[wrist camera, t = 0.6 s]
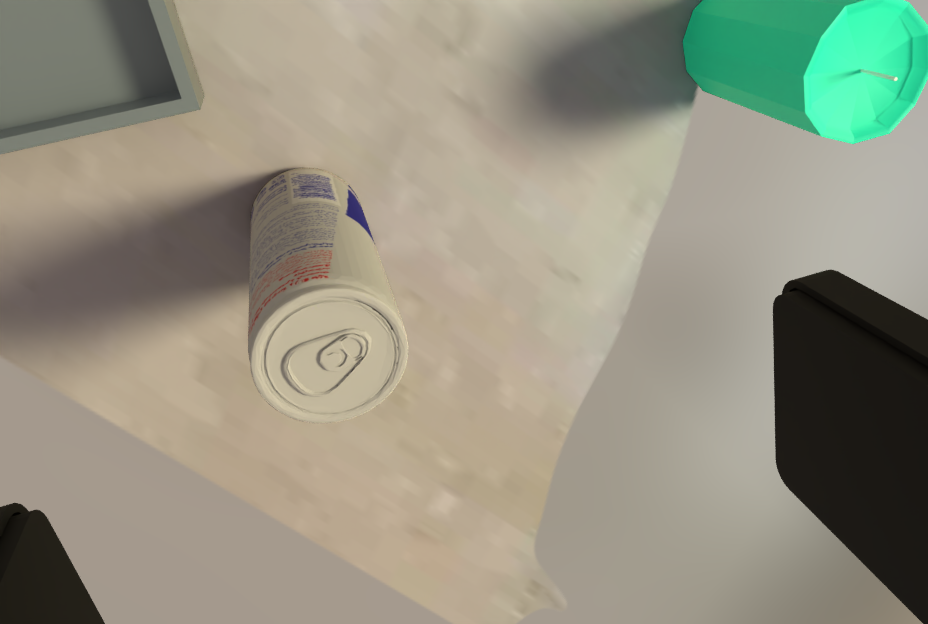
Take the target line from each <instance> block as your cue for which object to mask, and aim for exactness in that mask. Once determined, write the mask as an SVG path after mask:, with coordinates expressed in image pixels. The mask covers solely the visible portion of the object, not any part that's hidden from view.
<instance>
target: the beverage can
mask: <svg viewBox="0 0 928 624" xmlns="http://www.w3.org/2000/svg"><path fill="white" fill-rule="evenodd" d="M248 353H249V360H250V366H251V374H252V377H253V381H254V383H255V386H256V387H257V389H258V391H259V393H260V394H261V396H262V397H263V398H264V399H265V400H266V402H267V403H268V404H269V405H271V406H272V407H273V408H274V409H276V410H277V411H279V412H280V413H282V414H284V415H286V416H288V417H290V418H293V419H296V420H299V421H303V422H309V423H335V422H341V421H345V420H349V419H352V418H355V417H358V416H360V415H362V414H364V413H366V412H368V411H370V410H371V409H373V408H374V407H376V406H377V405H379V404H380V403H381V402H382V401H383V400H385V399H386V398H387V397H388V396H389V395H390V394H391V392H392V391H393V390H394V389H395V387H396V386H397V384H398V383H399V381H400V380H401V377H402V375H403V373H404V371H405V367H406V364H407V358H408V341H407V335H406V331H405V328H404V326H403V322H402V319H401V316H400V313H399V310H398V308H397V305H396V302H395V299H394V296H393V294H392V291H391V288H390V285H389V283H388V280H387V277H386V274H385V271H384V269H383V266H382V263H381V260H380V257H379V255H378V252H377V249H376V246H375V244H374V241H373V238H372V235H371V232H370V230H369V227H368V224H367V221H366V218H365V216H364V213H363V210H362V207H361V205H360V202H359V200H358V198H357V196H356V194H355V193H354V191H353V190H352V189H351V187H350V186H349V185H348V184H347V183H346V182H345V181H343V180H342V179H341V178H339V177H338V176H336V175H334V174H332V173H330V172H327V171H324V170H321V169H315V168H298V169H293V170H289V171H286V172H284V173H282V174H279V175H278V176H276V177H274V178H273V179H272V180H270V181H269V182H268V183H267V184H266V185H265V186H264V187H263V188H262V189H261V191H260V192H259V194H258V195H257V197H256V199H255V202H254V204H253V207H252V212H251V238H250V283H249V327H248Z"/></svg>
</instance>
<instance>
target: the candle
mask: <svg viewBox="0 0 928 624" xmlns="http://www.w3.org/2000/svg"><path fill="white" fill-rule="evenodd" d="M683 49H684V56H685V64H686V71H687V72H688V73H689V75H690V76H691V77H692V78H693V79H694V81H695V82H696V83H697V84H698V85H699V87H700V88H701V89H702V90H703V91H705V92H707V93H710V94H712V95H715V96H718V97H720V98H723V99H726V100H728V101H731V102H733V103H736V104H739V105H741V106H744V107H747V108H749V109H751V110H754V111H757V112H759V113H762V114H765V115H767V116H770V117H772V118H775V119H777V120H780V121H783V122H785V123H788V124H791V125H793V126H796V127H798V128H801V129H803V130H806V131H809V132H811V133H814V134H816V135H819V136H822V137H826V138H830V139H834V140H838V141H843V142H847V143H851V144H855V143H858V142H861V141H865V140H868V139H872V138H876V137H879V136H883V135H886V134H890V133H891V131H892V130H893V129H894V128H895V127H896V126H897V125H898V124H899V122H900V121H901V120H902V119H903V118H904V117H905V116H906V114H907V113H908V112H909V111H910V110H911V109H912V108H913V107H914V106H915V104H916V102H917V100H918V98H919V96H920V94H921V92H922V90H923V88H924V86H925V84H926V82H927V80H928V25H927V24H926V22H925V21H924V20H923V19H922V18H921V16H920V15H919V14H918V13H917V11H916V10H915V9H914V8H913V6H912V5H911V4H910V3H909V2H907V1H904V0H702V1H701V2H700V4H699V5H698V6H697V7H696V8H695V9H694V10H693V12H692V15H691V18H690V21H689V24H688V27H687V30H686V33H685V36H684V39H683Z"/></svg>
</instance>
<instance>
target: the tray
mask: <svg viewBox="0 0 928 624" xmlns="http://www.w3.org/2000/svg"><path fill="white" fill-rule="evenodd" d="M203 99H204V93H203V90H202V87H201V84H200V81H199V78H198V75H197V72H196V69H195V66H194V63H193V60H192V57H191V54H190V51H189V48H188V45H187V42H186V38H185V35H184V32H183V29H182V26H181V23H180V20H179V17H178V14H177V11H176V8H175V5H174V2H173V0H0V154H4V153H9V152H13V151H17V150H22V149H26V148H31V147H35V146H40V145H44V144H49V143H53V142H58V141H62V140H67V139H71V138H75V137H80V136H84V135H89V134H93V133H98V132H102V131H107V130H111V129H116V128H120V127H125V126H129V125H133V124H138V123H142V122H147V121H151V120H156V119H160V118H165V117H169V116H174V115H178V114H183V113H187V112H192V111H196V110H200V109H201V106H202V102H203Z"/></svg>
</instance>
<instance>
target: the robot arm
mask: <svg viewBox="0 0 928 624" xmlns="http://www.w3.org/2000/svg"><path fill="white" fill-rule="evenodd" d="M773 335H774V337H773V338H774V387H775V388H774V391H775V440H776V441H775V444H776V445H775V447H776V465H777V469H778V472H779V474H780V476H781V479H782V480H783V482H784V484H785V485H786V486H787V487H788V488H789V490H790V491H791V492H793V493H794V495H796V497H797V498H798V499H799V500H800V501H801V502H802V503H803V504H805V506H806V507H808V509H809V510H811V512H812V513H814V515H816V517H817V518H818V519H819V520H820V521H821V522H822V523H823V524H824V525H825V526H826V527H827V528H828V529H829V530H831V532H832V533H833V534H834V535H836V537H837V538H838V539H839V540H840V541H841V542H842V543H843V544H845V546H846V547H847V548H848V549H849V550H850V551H851V552H852V553H853V554H854V555H855V556H856V557H857V558H858V559H859V560H860V561H861V562H862V563H863V564H864V565H865V566H866V567H867V568H868V569H869V570H870V571H871V572H872V573H873V574H874V575H875V576H876V577H877V578H878V579H879V580H880V581H881V582H882V583H883V584H884V585H885V586H886V587H887V588H888V589H889V590H890V591H891V592H892V593H893V594H894V595H895V596H896V597H897V598H898V599H899V600H900V601H901V602H902V603H903V604H904V605H905V606H906V607H907V608H908V609H909V610H910V611H911V612H912V613H913V614H914V615H915V616H916V617H917V618H918V619H919V620H920V621H921V622H922V623H923V624H928V320H927V319H925V318H924V317H922V316H920V315H918V314H916V313H914V312H912V311H911V310H909V309H907V308H905V307H903V306H901V305H899V304H897V303H896V302H894V301H892V300H890V299H888V298H886V297H884V296H882V295H881V294H879V293H877V292H875V291H873V290H871V289H869V288H868V287H866V286H864V285H862V284H860V283H858V282H856V281H855V280H853V279H851V278H849V277H847V276H845V275H843V274H841V273H840V272H838V271H834V270H826V271H823V272H819V273H816V274H812V275H809V276H805V277H802V278H798V279H795V280H791V281H789V282H788V283H787V284H785V286H784V289H783V291H782V295H779V296H777V297H776V298H775V301H774V303H773ZM0 624H105V623H104V621H103V619H102V617H101V616H100V614H99V612H98V610H97V608H96V606H95V605H94V603H93V601H92V599H91V597H90V595H89V594H88V592H87V590H86V588H85V586H84V584H83V583H82V581H81V579H80V577H79V575H78V573H77V572H76V570H75V568H74V566H73V564H72V562H71V561H70V559H69V557H68V555H67V553H66V551H65V550H64V548H63V546H62V544H61V542H60V541H59V539H58V537H57V535H56V533H55V531H54V529H53V528H52V526H51V524H50V522H49V521H48V519H47V517H46V516H45V514H44V513H42V512H41V511H40V510H33V511H30V512H29V511H28V510H27V509H26V508H25V507H24V506H23V505H21V504H18V503H13V504H9V505H6V506H2V507H0Z"/></svg>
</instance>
